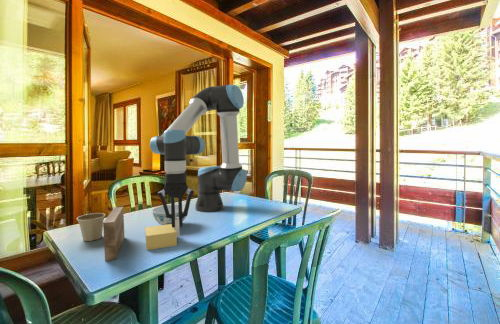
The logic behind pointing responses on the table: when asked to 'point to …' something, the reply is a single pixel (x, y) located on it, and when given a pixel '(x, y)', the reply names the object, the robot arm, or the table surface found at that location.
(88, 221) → the flower pot
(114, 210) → the walnut board
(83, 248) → the table surface
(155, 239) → the mustard block
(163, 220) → the chinaware
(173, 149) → the robot arm
